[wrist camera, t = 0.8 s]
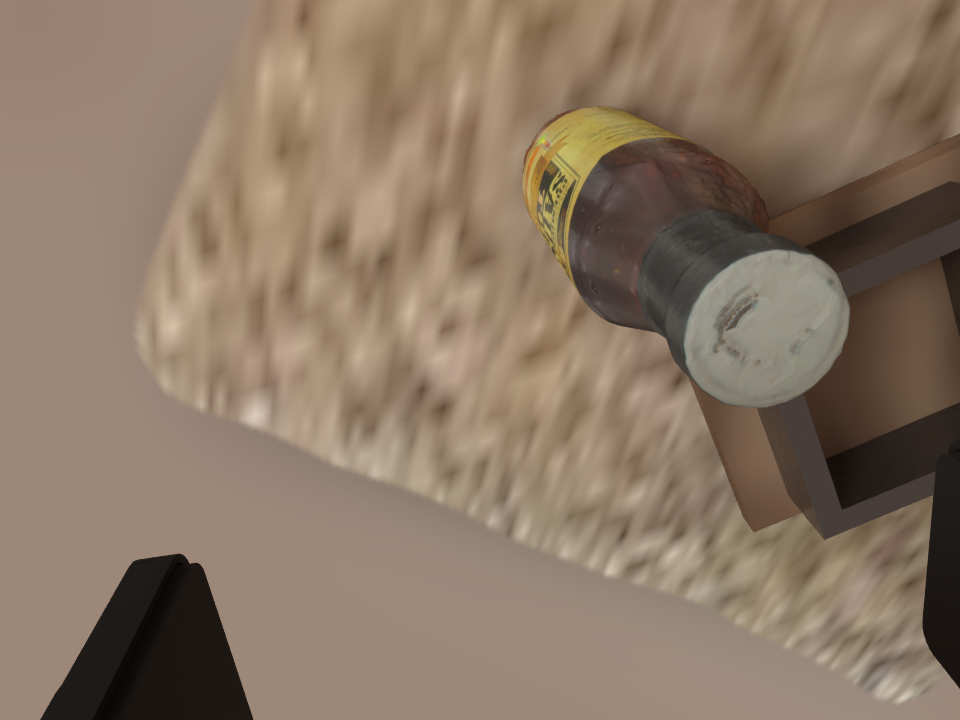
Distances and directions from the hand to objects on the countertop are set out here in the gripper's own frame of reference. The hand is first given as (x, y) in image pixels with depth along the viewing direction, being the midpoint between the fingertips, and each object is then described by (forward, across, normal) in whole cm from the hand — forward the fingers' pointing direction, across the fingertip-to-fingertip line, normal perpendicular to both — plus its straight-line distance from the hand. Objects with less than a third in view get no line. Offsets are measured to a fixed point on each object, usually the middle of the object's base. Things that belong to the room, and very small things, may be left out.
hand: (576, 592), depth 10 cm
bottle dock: (+29, -17, +10) cm, 35 cm away
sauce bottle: (+29, -5, 0) cm, 29 cm away
